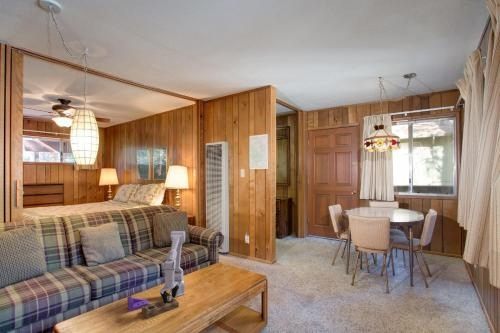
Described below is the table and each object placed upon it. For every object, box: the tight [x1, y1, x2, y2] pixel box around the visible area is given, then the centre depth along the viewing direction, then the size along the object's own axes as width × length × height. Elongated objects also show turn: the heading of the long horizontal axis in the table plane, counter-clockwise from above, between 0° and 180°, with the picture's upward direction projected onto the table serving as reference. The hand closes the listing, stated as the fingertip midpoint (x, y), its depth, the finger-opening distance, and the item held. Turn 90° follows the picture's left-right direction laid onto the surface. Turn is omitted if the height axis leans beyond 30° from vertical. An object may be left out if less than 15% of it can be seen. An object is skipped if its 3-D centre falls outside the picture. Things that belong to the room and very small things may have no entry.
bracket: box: [126, 295, 150, 313], centre depth 168 cm, size 12×7×7 cm, turn 127°
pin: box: [167, 292, 172, 303], centre depth 169 cm, size 3×3×8 cm
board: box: [141, 297, 180, 320], centre depth 165 cm, size 20×10×3 cm, turn 132°
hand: (169, 300), depth 169 cm, fingers open, 7 cm apart
